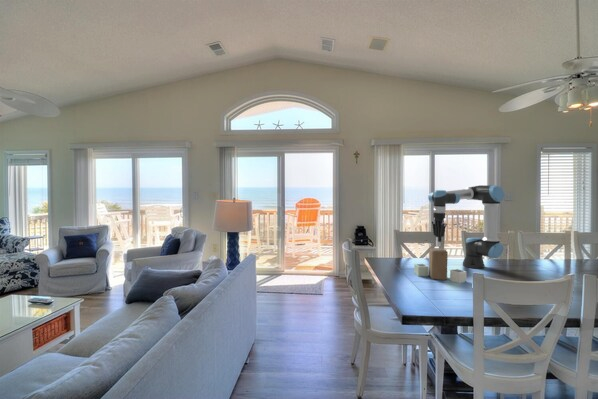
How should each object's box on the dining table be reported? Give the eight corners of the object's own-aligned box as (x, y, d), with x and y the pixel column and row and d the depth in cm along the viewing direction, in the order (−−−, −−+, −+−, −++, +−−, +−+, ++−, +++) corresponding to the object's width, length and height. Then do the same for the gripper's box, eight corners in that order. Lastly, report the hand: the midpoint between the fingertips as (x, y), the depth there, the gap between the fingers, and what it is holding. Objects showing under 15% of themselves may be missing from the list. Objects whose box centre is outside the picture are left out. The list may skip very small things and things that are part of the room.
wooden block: (447, 280, 210) (448, 251, 209) (431, 279, 212) (432, 250, 211) (443, 276, 220) (444, 248, 219) (428, 275, 222) (429, 247, 221)
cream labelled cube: (456, 278, 214) (456, 268, 213) (466, 281, 207) (466, 271, 207) (450, 280, 210) (450, 269, 210) (459, 283, 204) (459, 272, 204)
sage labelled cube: (423, 273, 227) (423, 263, 226) (428, 276, 220) (428, 266, 219) (414, 273, 226) (414, 263, 226) (418, 276, 219) (418, 266, 219)
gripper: (428, 211, 219) (427, 244, 220) (440, 213, 206) (439, 248, 207) (437, 211, 220) (436, 244, 222) (450, 213, 208) (449, 247, 209)
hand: (438, 246), depth 214 cm, fingers closed
